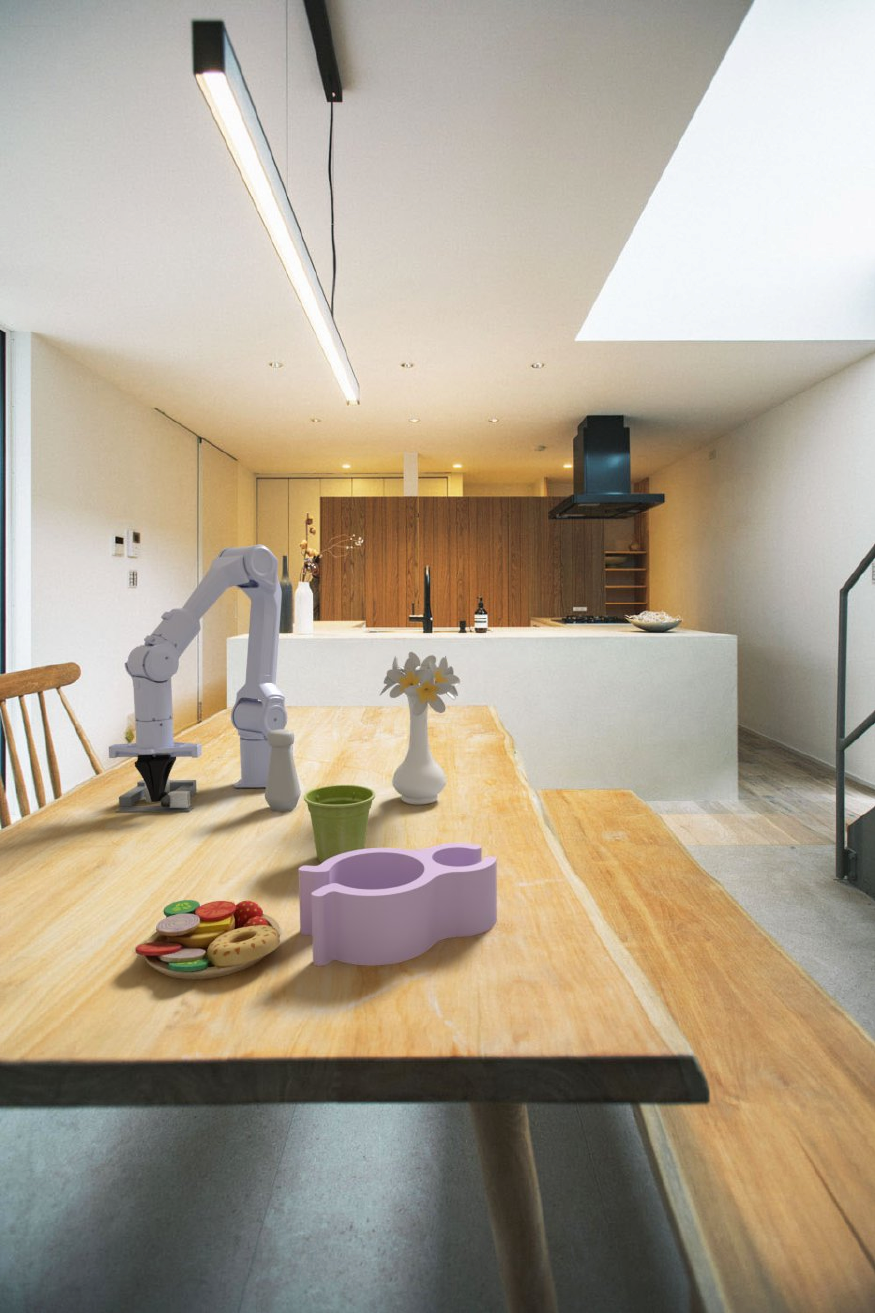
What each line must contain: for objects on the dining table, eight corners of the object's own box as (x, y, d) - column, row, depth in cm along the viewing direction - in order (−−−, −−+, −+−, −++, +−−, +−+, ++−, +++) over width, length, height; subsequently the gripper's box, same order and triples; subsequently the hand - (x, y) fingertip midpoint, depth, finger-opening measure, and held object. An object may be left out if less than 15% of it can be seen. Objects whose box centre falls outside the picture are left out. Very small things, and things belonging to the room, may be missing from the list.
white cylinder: (174, 795, 122) (172, 753, 121) (164, 802, 118) (162, 758, 117) (151, 795, 122) (149, 753, 121) (141, 802, 118) (139, 759, 117)
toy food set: (280, 979, 63) (279, 945, 63) (125, 998, 60) (123, 962, 60) (281, 914, 76) (280, 886, 76) (154, 927, 73) (152, 898, 73)
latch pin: (191, 804, 115) (191, 790, 115) (186, 808, 113) (185, 794, 112) (166, 804, 115) (166, 790, 115) (160, 808, 113) (160, 794, 112)
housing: (213, 791, 124) (212, 779, 124) (188, 811, 113) (188, 798, 112) (141, 792, 124) (140, 780, 124) (109, 812, 113) (109, 799, 113)
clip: (465, 891, 81) (465, 833, 81) (515, 938, 70) (515, 872, 69) (295, 922, 74) (293, 859, 74) (320, 981, 63) (318, 907, 62)
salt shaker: (305, 803, 117) (303, 727, 116) (295, 814, 111) (292, 734, 110) (271, 802, 117) (269, 727, 116) (259, 813, 112) (257, 733, 110)
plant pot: (387, 849, 95) (386, 787, 94) (357, 875, 86) (356, 807, 85) (326, 842, 98) (325, 782, 97) (291, 866, 89) (289, 800, 88)
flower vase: (404, 821, 107) (402, 660, 105) (371, 791, 124) (368, 652, 122) (480, 811, 112) (480, 656, 109) (438, 783, 129) (437, 649, 127)
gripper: (97, 723, 109) (101, 807, 110) (189, 722, 109) (192, 807, 110) (118, 715, 116) (122, 795, 117) (204, 715, 116) (207, 794, 117)
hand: (157, 800), depth 114 cm, fingers closed
